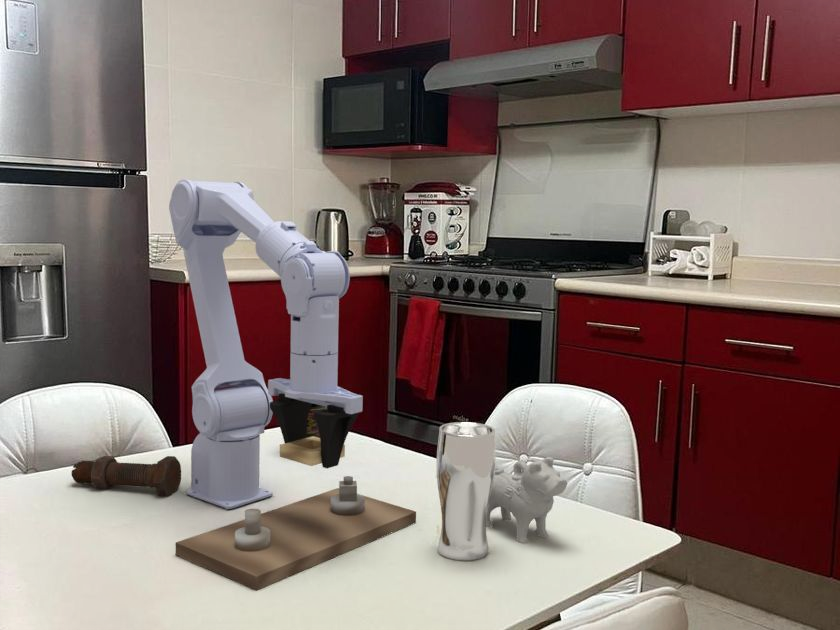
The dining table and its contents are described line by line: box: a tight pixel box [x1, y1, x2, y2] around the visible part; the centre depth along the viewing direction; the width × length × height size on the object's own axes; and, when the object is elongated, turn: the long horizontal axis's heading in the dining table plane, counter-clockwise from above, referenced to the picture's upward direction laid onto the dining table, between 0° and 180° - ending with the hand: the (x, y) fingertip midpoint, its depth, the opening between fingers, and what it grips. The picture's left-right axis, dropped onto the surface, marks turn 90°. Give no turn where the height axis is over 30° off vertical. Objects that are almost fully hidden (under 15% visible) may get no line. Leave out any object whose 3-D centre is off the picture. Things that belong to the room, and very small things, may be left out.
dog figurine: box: [486, 456, 568, 545], centre depth 109 cm, size 5×13×11 cm, turn 40°
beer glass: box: [436, 421, 497, 562], centre depth 103 cm, size 7×7×15 cm
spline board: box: [175, 475, 417, 591], centre depth 106 cm, size 27×14×6 cm, turn 142°
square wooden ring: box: [279, 436, 346, 467], centre depth 106 cm, size 6×6×2 cm
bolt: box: [71, 455, 182, 498], centre depth 123 cm, size 6×5×15 cm
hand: (312, 461), depth 106 cm, fingers closed on square wooden ring, 6 cm apart
